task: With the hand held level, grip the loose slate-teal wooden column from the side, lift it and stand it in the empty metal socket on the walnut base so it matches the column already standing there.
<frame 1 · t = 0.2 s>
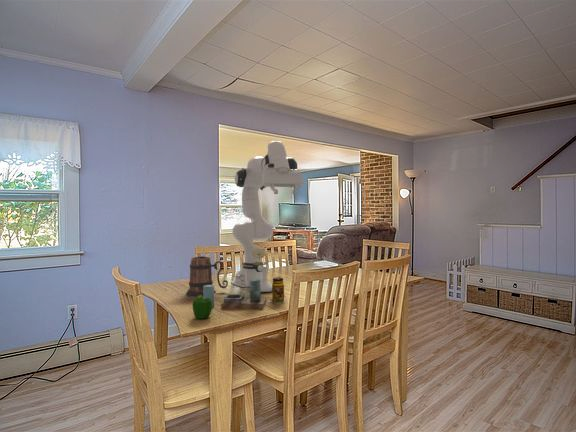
hand: (285, 193, 156), 54 cm above the table, tool tilted 30°, fingers open, 8 cm apart
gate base: (244, 305, 162), on the table
tankard: (206, 293, 189), on the table
column: (208, 306, 161), on the table
flower in vase: (263, 291, 191), on the table
bell pepper: (201, 318, 144), on the table
condiment: (276, 301, 170), on the table
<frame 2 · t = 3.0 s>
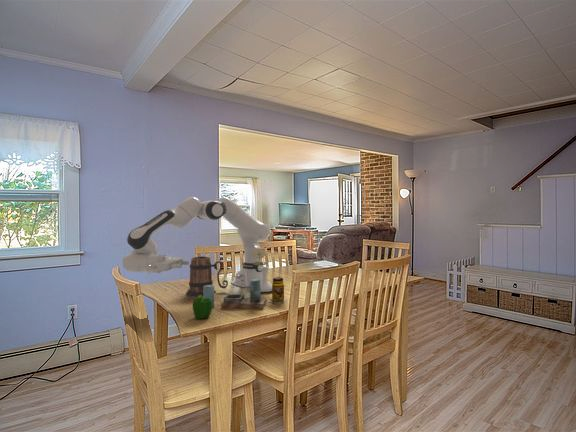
hand: (184, 264, 161), 20 cm above the table, tool horizontal, fingers open, 8 cm apart
nothing on the table moved.
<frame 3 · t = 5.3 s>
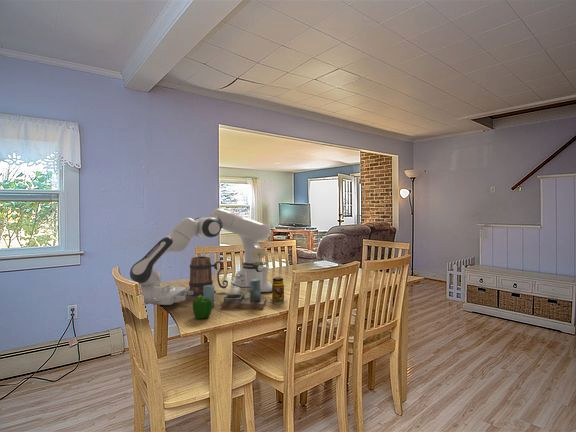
hand: (189, 295, 161), 5 cm above the table, tool horizontal, fingers open, 8 cm apart
nothing on the table moved.
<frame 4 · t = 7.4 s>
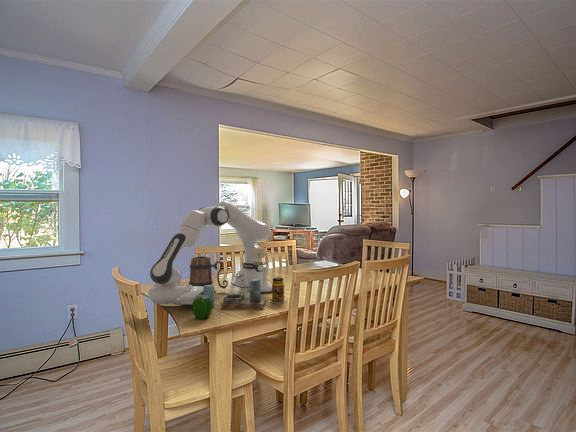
hand: (210, 295, 160), 6 cm above the table, tool horizontal, fingers closed on column, 5 cm apart
column: (208, 306, 161), on the table, touching gripper
everything else where it was.
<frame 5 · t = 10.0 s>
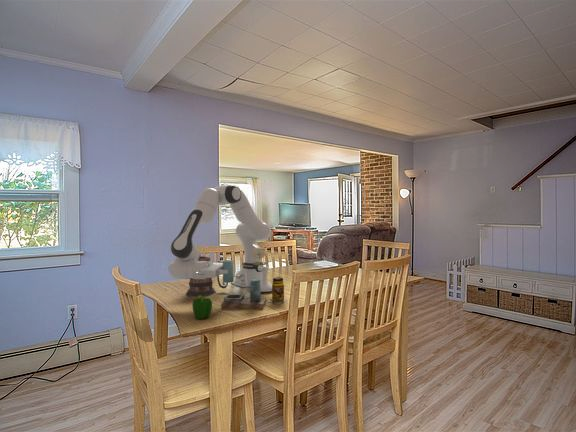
hand: (229, 270, 162), 17 cm above the table, tool horizontal, fingers closed on column, 5 cm apart
column: (228, 281, 162), point 12 cm above the table, touching gripper
everything else where it was.
when the fingers open (9 cm above the table, at t = 12.4 s): column stays where it is, resting on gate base.
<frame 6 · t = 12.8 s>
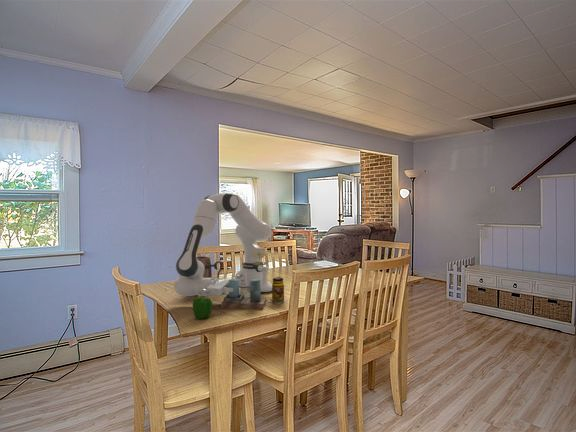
hand: (235, 287, 162), 9 cm above the table, tool horizontal, fingers open, 8 cm apart
column: (234, 300, 162), point 3 cm above the table, touching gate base
everything else where it was.
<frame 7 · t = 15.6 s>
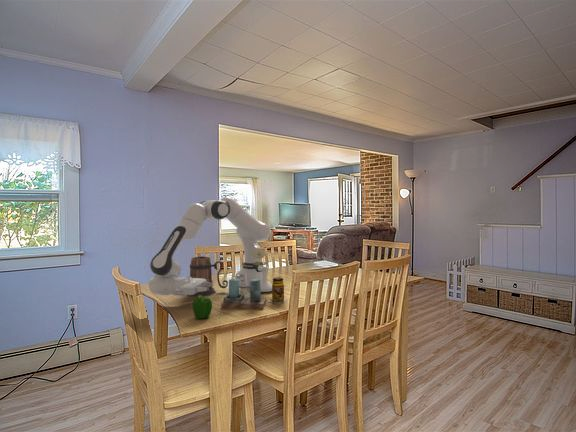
hand: (209, 286, 163), 9 cm above the table, tool horizontal, fingers open, 8 cm apart
nothing on the table moved.
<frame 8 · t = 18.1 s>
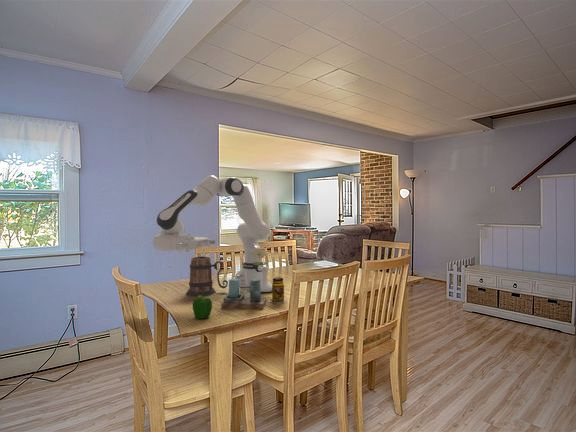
hand: (212, 243, 168), 30 cm above the table, tool horizontal, fingers open, 8 cm apart
nothing on the table moved.
at the end: column 0.0 cm from the target spot on the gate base, point 2.5 cm above the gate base's base; column tilted 1°; the gripper is holding nothing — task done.
